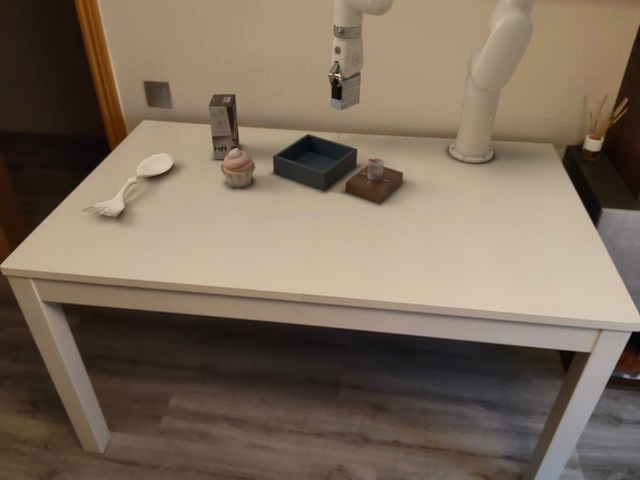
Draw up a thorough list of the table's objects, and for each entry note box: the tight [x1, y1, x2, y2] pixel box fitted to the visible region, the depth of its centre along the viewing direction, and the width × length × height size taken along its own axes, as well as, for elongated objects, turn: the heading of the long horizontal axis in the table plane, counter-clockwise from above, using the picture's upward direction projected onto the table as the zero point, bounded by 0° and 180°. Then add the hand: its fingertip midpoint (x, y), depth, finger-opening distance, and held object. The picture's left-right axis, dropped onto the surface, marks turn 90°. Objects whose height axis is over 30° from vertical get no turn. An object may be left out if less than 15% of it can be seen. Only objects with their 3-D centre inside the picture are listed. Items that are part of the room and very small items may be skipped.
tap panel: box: [344, 164, 404, 205], centre depth 143 cm, size 13×10×3 cm
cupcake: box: [220, 148, 257, 189], centre depth 143 cm, size 9×9×10 cm
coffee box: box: [208, 93, 241, 160], centre depth 155 cm, size 9×6×16 cm
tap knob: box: [367, 157, 385, 181], centre depth 141 cm, size 4×4×5 cm
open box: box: [272, 133, 358, 192], centre depth 150 cm, size 17×17×5 cm
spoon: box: [82, 153, 174, 218], centre depth 141 cm, size 9×32×4 cm, turn 164°
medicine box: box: [329, 73, 362, 112], centre depth 155 cm, size 8×4×9 cm, turn 134°
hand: (345, 93), depth 155 cm, fingers closed on medicine box, 8 cm apart
